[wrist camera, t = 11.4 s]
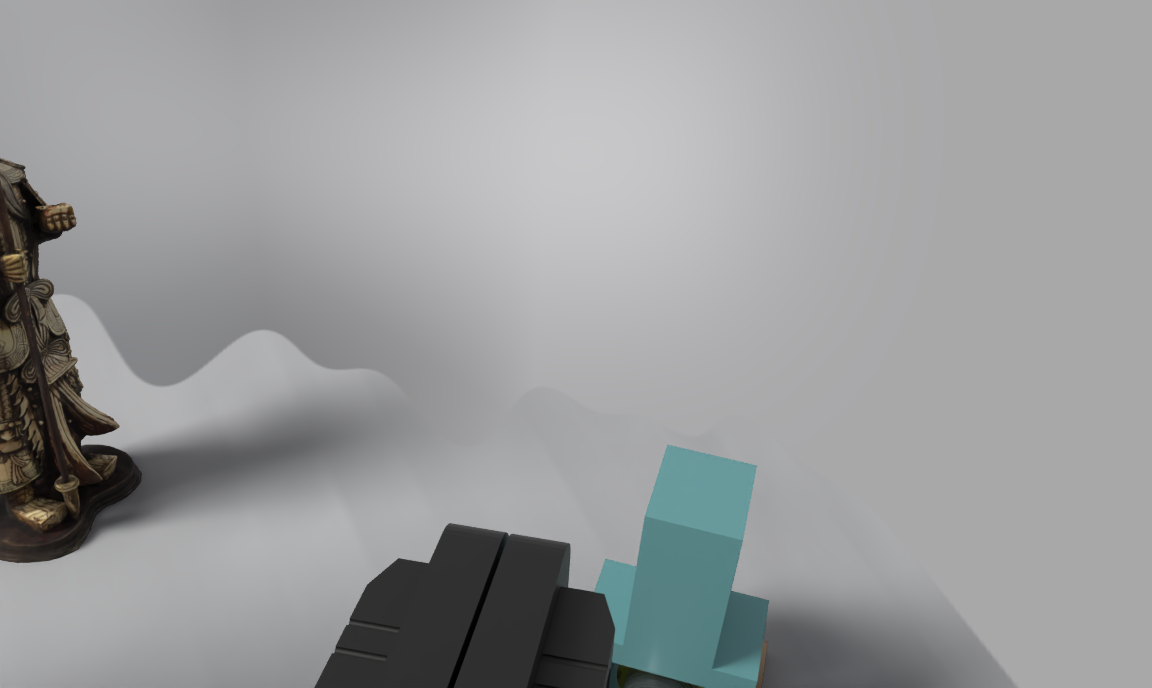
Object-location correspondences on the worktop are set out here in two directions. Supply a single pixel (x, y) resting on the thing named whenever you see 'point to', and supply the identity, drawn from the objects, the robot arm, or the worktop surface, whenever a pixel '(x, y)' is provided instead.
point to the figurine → (44, 397)
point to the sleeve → (689, 579)
